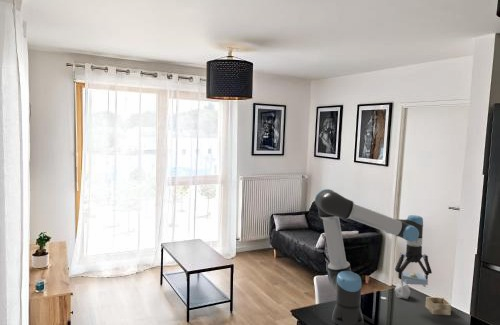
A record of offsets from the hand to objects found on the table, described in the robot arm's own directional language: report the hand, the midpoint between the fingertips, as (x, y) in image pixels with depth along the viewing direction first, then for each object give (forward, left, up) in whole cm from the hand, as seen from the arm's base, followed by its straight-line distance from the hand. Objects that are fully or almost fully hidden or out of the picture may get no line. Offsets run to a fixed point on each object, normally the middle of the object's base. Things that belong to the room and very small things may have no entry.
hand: (412, 285), depth 194 cm
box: (+14, 0, -14) cm, 20 cm away
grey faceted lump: (+1, +17, -14) cm, 22 cm away
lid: (0, 0, +3) cm, 3 cm away
